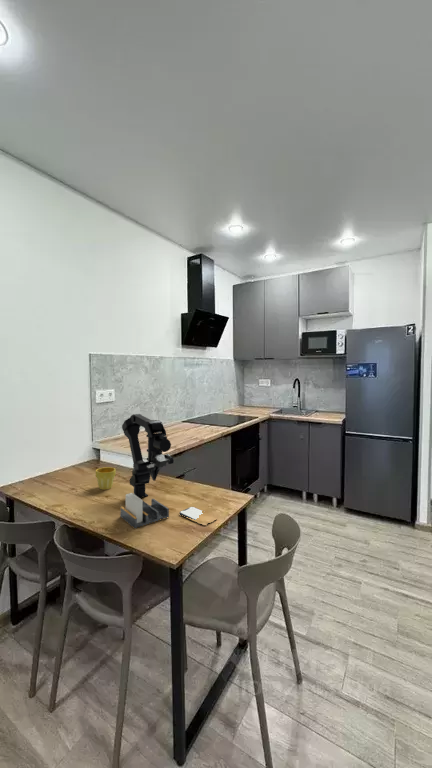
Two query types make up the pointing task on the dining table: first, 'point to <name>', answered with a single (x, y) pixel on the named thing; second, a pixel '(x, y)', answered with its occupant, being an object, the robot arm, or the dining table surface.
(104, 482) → the plant pot
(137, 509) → the panel
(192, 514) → the phone case
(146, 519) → the rack
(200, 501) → the dining table surface
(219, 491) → the dining table surface
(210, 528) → the dining table surface
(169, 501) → the dining table surface
